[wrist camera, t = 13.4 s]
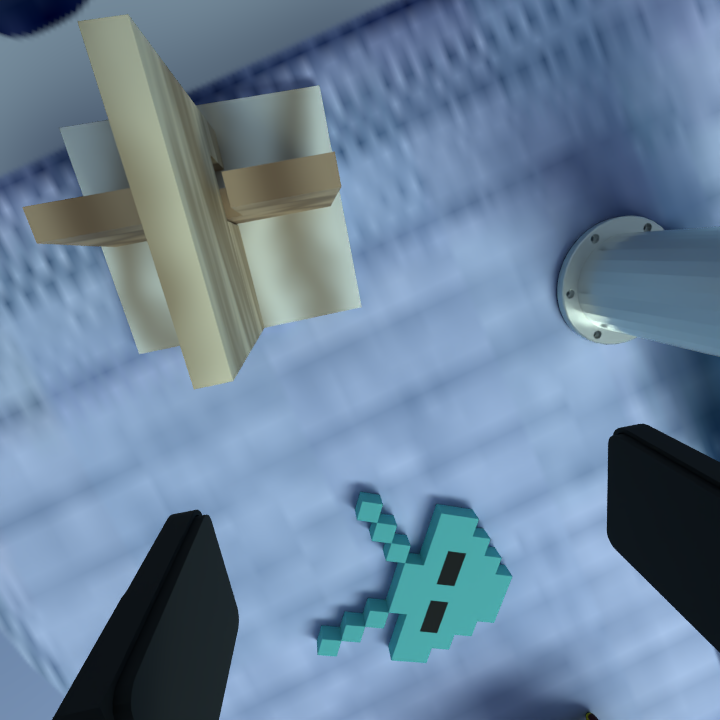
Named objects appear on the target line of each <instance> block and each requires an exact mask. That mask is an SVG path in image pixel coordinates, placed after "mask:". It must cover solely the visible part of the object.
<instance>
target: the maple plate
mask: <svg viewBox="0 0 720 720" xmlns="http://www.w3.org/2000/svg"><path fill="white" fill-rule="evenodd" d="M78 24H79V28H80V31H81V34H82V37H83V40H84V43H85V47H86V50H87V53H88V56H89V59H90V62H91V66H92V69H93V72H94V75H95V78H96V81H97V85H98V88H99V91H100V94H101V97H102V100H103V104H104V107H105V110H106V113H107V116H108V119H109V123H110V126H111V129H112V132H113V135H114V138H115V141H116V145H117V148H118V151H119V154H120V157H121V160H122V164H123V167H124V170H125V173H126V176H127V179H128V183H129V186H130V189H131V192H132V195H133V198H134V201H135V205H136V208H137V211H138V214H139V217H140V220H141V224H142V227H143V230H144V233H145V236H146V239H147V243H148V246H149V249H150V252H151V255H152V258H153V261H154V265H155V268H156V271H157V274H158V277H159V280H160V284H161V287H162V290H163V293H164V296H165V299H166V303H167V306H168V309H169V312H170V315H171V318H172V322H173V325H174V328H175V331H176V334H177V337H178V340H179V344H180V347H181V350H182V353H183V356H184V359H185V363H186V366H187V369H188V372H189V375H190V378H191V382H192V385H193V388H194V389H198V388H203V387H208V386H212V385H217V384H222V383H227V382H231V381H233V380H234V379H235V377H236V375H237V374H238V372H239V370H240V368H241V367H242V365H243V363H244V362H245V360H246V358H247V356H248V355H249V353H250V351H251V350H252V348H253V346H254V344H255V343H256V341H257V339H258V338H259V336H260V334H261V332H262V331H263V329H264V324H263V320H262V316H261V312H260V308H259V304H258V300H257V296H256V292H255V288H254V284H253V280H252V276H251V272H250V268H249V264H248V261H247V257H246V253H245V249H244V245H243V241H242V237H241V233H240V229H239V226H238V225H236V224H233V223H231V222H229V221H227V217H226V214H225V210H224V206H223V202H222V198H221V194H220V191H219V187H218V183H217V179H216V175H215V171H219V170H224V166H223V162H222V158H221V154H220V150H219V146H218V142H217V138H216V134H215V131H214V130H213V128H212V127H211V126H210V124H209V123H208V122H207V120H206V119H205V118H204V116H203V115H202V113H201V112H200V111H199V109H198V108H197V107H196V105H195V104H194V103H193V101H192V100H191V99H190V97H189V96H188V95H187V93H186V92H185V90H184V89H183V88H182V87H181V85H180V84H179V82H178V81H177V80H176V78H175V77H174V76H173V74H172V73H171V72H170V70H169V69H168V67H167V66H166V65H165V63H164V62H163V61H162V60H161V58H160V57H159V55H158V54H157V53H156V51H155V50H154V49H153V47H152V46H151V45H150V43H149V42H148V40H147V39H146V38H145V36H144V35H143V34H142V32H141V31H140V30H139V28H138V27H137V26H136V24H135V23H134V22H133V20H132V19H131V18H130V16H129V15H128V14H127V15H120V16H113V17H105V18H98V19H91V20H84V21H78Z"/></svg>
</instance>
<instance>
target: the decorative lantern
mask: <svg viewBox="0 0 720 720" xmlns="http://www.w3.org/2000/svg"><path fill="white" fill-rule="evenodd" d="M586 720H598V719H597V717H596V716H595V715H593V714H592V713H587V715H586Z"/></svg>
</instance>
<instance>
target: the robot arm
mask: <svg viewBox="0 0 720 720" xmlns="http://www.w3.org/2000/svg"><path fill="white" fill-rule="evenodd" d="M557 298H558V303H559V308H560V311H561V313H562V316H563V318H564V320H565V322H566V323H567V324H568V326H569V327H570V328H571V329H572V330H573V331H574V332H575V333H576V334H577V335H579V336H581V337H582V338H584V339H586V340H589V341H592V342H595V343H600V344H606V345H608V344H620V343H624V342H628V341H630V340H632V339H635V338H637V337H640V338H644V339H648V340H652V341H656V342H661V343H665V344H669V345H673V346H677V347H681V348H685V349H690V350H694V351H698V352H702V353H706V354H710V355H714V356H719V357H720V226H718V227H704V228H690V229H676V230H664V229H663V228H662V227H661V226H660V225H658V224H657V223H655V222H654V221H652V220H649V219H647V218H644V217H639V216H622V217H616V218H611V219H607V220H605V221H603V222H600V223H598V224H596V225H595V226H593V227H592V228H590V229H589V230H587V231H586V232H585V233H584V234H583V235H582V236H581V237H580V238H579V239H578V240H577V241H576V242H575V244H574V245H573V246H572V248H571V249H570V250H569V252H568V254H567V256H566V258H565V260H564V262H563V265H562V267H561V270H560V273H559V279H558V285H557ZM607 535H608V538H609V540H610V543H611V544H612V546H613V547H614V548H615V549H616V550H617V551H618V552H619V553H620V554H621V555H622V556H623V557H624V558H625V559H626V560H627V561H628V562H629V563H630V564H631V565H632V566H633V567H634V568H635V569H636V570H637V571H638V572H639V573H640V574H641V575H642V576H643V577H644V578H645V579H646V580H647V581H648V582H649V583H650V584H651V585H652V586H653V587H654V588H655V589H656V590H657V591H658V592H659V593H660V594H661V595H662V596H663V597H664V598H665V599H666V600H667V601H668V602H669V603H670V604H671V605H672V606H673V607H674V608H675V609H676V610H677V611H678V612H679V613H680V614H681V615H682V616H683V617H684V618H685V619H686V620H687V621H688V622H689V623H690V624H691V625H692V626H693V627H694V628H695V629H696V630H697V631H698V632H699V633H700V634H701V635H702V636H703V637H704V638H705V639H706V640H707V641H708V642H709V643H710V644H712V645H713V646H714V647H715V648H716V649H717V650H718V651H719V652H720V462H718V461H716V460H714V459H712V458H710V457H709V456H707V455H705V454H703V453H701V452H699V451H697V450H695V449H693V448H691V447H689V446H687V445H685V444H683V443H681V442H680V441H678V440H676V439H674V438H672V437H670V436H668V435H666V434H664V433H662V432H660V431H658V430H656V429H654V428H652V427H651V426H649V425H646V424H637V425H632V426H627V427H621V428H618V429H616V430H615V432H614V433H613V436H611V437H610V438H609V442H608V493H607ZM238 626H239V615H238V609H237V605H236V602H235V598H234V595H233V591H232V588H231V585H230V581H229V578H228V575H227V571H226V568H225V565H224V561H223V558H222V554H221V551H220V548H219V544H218V541H217V538H216V534H215V531H214V527H213V524H212V521H211V518H210V516H209V515H203V516H202V513H201V512H200V511H199V510H193V511H188V512H183V513H177V514H173V515H170V516H169V518H168V519H167V521H166V523H165V524H164V526H163V528H162V530H161V531H160V533H159V535H158V537H157V538H156V540H155V542H154V544H153V545H152V547H151V549H150V551H149V553H148V554H147V556H146V558H145V560H144V561H143V563H142V565H141V567H140V568H139V570H138V572H137V574H136V576H135V577H134V579H133V581H132V583H131V584H130V586H129V588H128V590H127V591H126V593H125V594H124V595H123V597H122V598H121V600H120V601H119V603H118V605H117V607H116V609H115V610H114V612H113V614H112V616H111V617H110V619H109V621H108V623H107V624H106V626H105V628H104V630H103V631H102V633H101V635H100V637H99V638H98V640H97V642H96V644H95V645H94V647H93V649H92V651H91V652H90V654H89V656H88V658H87V659H86V661H85V663H84V665H83V666H82V668H81V670H80V672H79V673H78V675H77V677H76V679H75V680H74V682H73V684H72V686H71V687H70V689H69V691H68V693H67V694H66V696H65V698H64V700H63V701H62V703H61V705H60V707H59V709H58V710H57V712H56V714H55V716H54V717H53V719H52V720H219V717H220V712H221V707H222V702H223V698H224V693H225V688H226V684H227V679H228V674H229V669H230V665H231V660H232V655H233V651H234V646H235V641H236V636H237V632H238Z"/></svg>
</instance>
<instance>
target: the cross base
mask: <svg viewBox="0 0 720 720" xmlns="http://www.w3.org/2000/svg"><path fill="white" fill-rule="evenodd" d="M196 107H197V108H198V109H199V111H200V112H201V113H202V115H203V116H204V118H205V119H206V120H207V122H208V123H209V124H210V126H211V127H212V128H213V130H214V131H215V134H216V138H217V142H218V146H219V150H220V154H221V158H222V162H223V166H224V170H219V171H215V175H216V179H217V183H218V187H219V191H220V194H221V198H222V202H223V206H224V210H225V214H226V217H227V221H229V222H231V223H233V224H236V225H238V226H239V229H240V233H241V237H242V241H243V245H244V249H245V253H246V257H247V261H248V264H249V268H250V272H251V276H252V280H253V284H254V288H255V292H256V296H257V300H258V304H259V308H260V312H261V316H262V320H263V324H264V328H265V327H270V326H275V325H280V324H284V323H289V322H294V321H299V320H303V319H308V318H313V317H317V316H322V315H327V314H332V313H336V312H341V311H346V310H350V309H355V308H360V307H361V302H360V297H359V291H358V286H357V281H356V276H355V270H354V265H353V260H352V255H351V249H350V244H349V239H348V234H347V228H346V223H345V218H344V213H343V207H342V202H341V197H340V192H339V190H340V188H341V182H340V177H339V172H338V167H337V161H336V156H335V152H332V149H331V144H330V139H329V134H328V128H327V123H326V118H325V113H324V107H323V102H322V97H321V92H320V86H312V87H306V88H300V89H294V90H288V91H282V92H276V93H270V94H263V95H257V96H251V97H245V98H239V99H233V100H227V101H220V102H214V103H208V104H202V105H196ZM60 132H61V135H62V137H63V141H64V143H65V146H66V149H67V152H68V155H69V157H70V160H71V163H72V166H73V169H74V171H75V174H76V177H77V180H78V183H79V186H80V188H81V191H82V194H83V196H82V197H76V198H71V199H65V200H60V201H54V202H48V203H43V204H37V205H31V206H26V207H23V210H24V212H25V215H26V217H27V220H28V222H29V225H30V227H31V230H32V232H33V235H34V237H35V240H36V242H37V243H39V244H60V245H81V246H101V247H102V250H103V253H104V256H105V259H106V261H107V264H108V267H109V270H110V273H111V275H112V278H113V281H114V284H115V287H116V290H117V292H118V295H119V298H120V301H121V304H122V306H123V309H124V312H125V315H126V318H127V320H128V323H129V326H130V329H131V332H132V334H133V337H134V340H135V343H136V346H137V349H138V351H139V354H143V353H148V352H152V351H157V350H162V349H166V348H171V347H176V346H180V344H179V340H178V337H177V334H176V331H175V328H174V325H173V322H172V318H171V315H170V312H169V309H168V306H167V303H166V299H165V296H164V293H163V290H162V287H161V284H160V280H159V277H158V274H157V271H156V268H155V265H154V261H153V258H152V255H151V252H150V249H149V246H148V243H147V239H146V236H145V233H144V230H143V227H142V224H141V220H140V217H139V214H138V211H137V208H136V205H135V201H134V198H133V195H132V192H131V189H130V186H129V183H128V179H127V176H126V173H125V170H124V167H123V164H122V160H121V157H120V154H119V151H118V148H117V145H116V141H115V138H114V135H113V132H112V129H111V126H110V123H109V120H105V121H98V122H92V123H86V124H79V125H73V126H67V127H61V128H60Z"/></svg>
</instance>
